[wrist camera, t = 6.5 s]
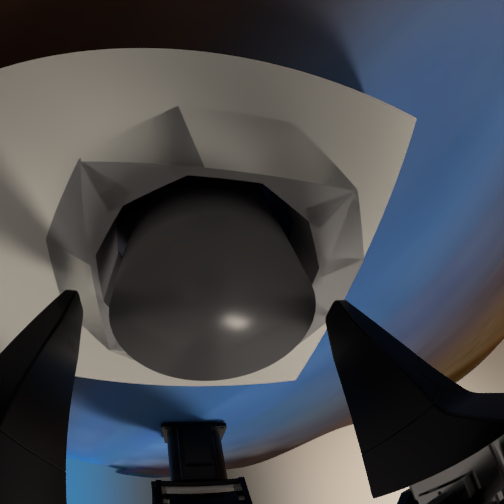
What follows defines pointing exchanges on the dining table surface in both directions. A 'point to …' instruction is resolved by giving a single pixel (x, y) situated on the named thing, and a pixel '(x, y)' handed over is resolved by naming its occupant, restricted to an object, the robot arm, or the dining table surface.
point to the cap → (209, 283)
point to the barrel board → (175, 167)
